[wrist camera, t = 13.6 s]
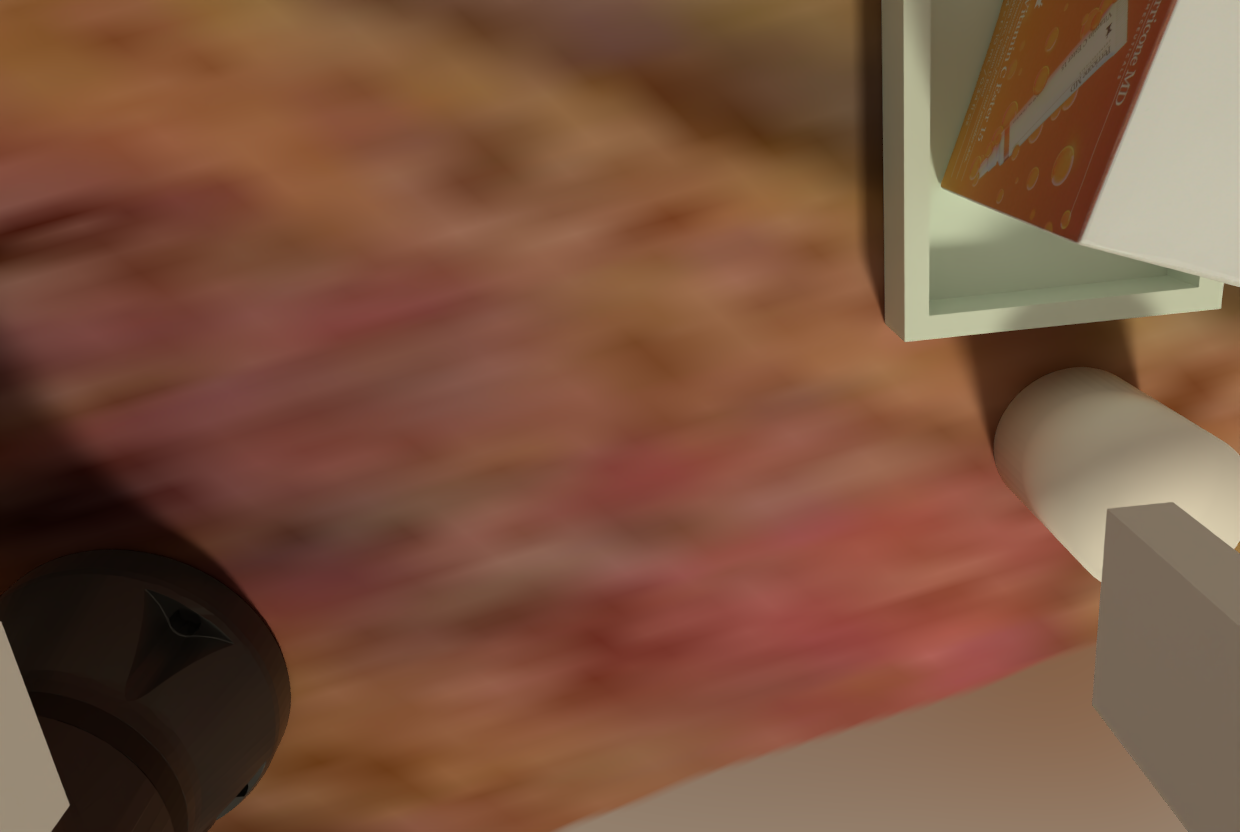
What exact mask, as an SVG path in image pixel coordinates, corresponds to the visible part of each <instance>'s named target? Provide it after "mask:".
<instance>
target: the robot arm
mask: <svg viewBox="0 0 1240 832" xmlns="http://www.w3.org/2000/svg"><path fill="white" fill-rule="evenodd" d="M290 703H291V692H290V682H289V676H288V672H287V668H286V665H285V661H284V658H283V656H282V653H281V651H280V649H279V647H278V645H277V643H276V641H275V639H274V637H273V636H272V634H271V632H270V631H269V629H268V628H267V627H266V625H265V624H264V622H263V621H262V620H261V619H260V617H259V616H258V615H257V614H256V613H255V612H254V611H253V609H252V608H251V607H250V606H249V605H248V604H247V603H246V602H245V601H243V600H242V599H241V598H240V597H239V596H238V595H237V594H235V593H234V592H233V591H232V590H230V589H229V588H228V587H226V586H225V585H223V584H222V583H220V582H219V581H217V580H216V579H214V578H212V577H211V576H209V575H207V574H205V573H203V572H202V571H200V570H197V569H195V568H193V567H191V566H189V565H186V564H184V563H181V562H179V561H176V560H173V559H169V558H166V557H163V556H159V555H155V554H150V553H145V552H138V551H130V550H94V551H86V552H80V553H75V554H71V555H67V556H64V557H60V558H58V559H55V560H52V561H50V562H47V563H45V564H43V565H41V566H39V567H37V568H35V569H34V570H32V571H30V572H29V573H27V574H26V575H24V576H23V577H22V578H20V579H19V580H18V581H17V582H16V583H14V584H13V585H12V586H11V587H10V588H9V589H8V590H7V591H5V592H4V593H3V594H2V595H1V596H0V832H207V831H208V830H209V829H210V828H211V827H212V825H213V824H214V823H215V821H216V820H217V819H219V818H221V817H222V816H224V815H225V814H227V813H228V812H229V811H231V810H232V809H233V808H234V807H236V806H237V805H238V804H239V803H240V802H241V801H242V800H243V799H244V798H245V797H246V796H247V795H248V794H249V793H250V792H251V791H252V790H253V789H254V788H255V786H256V785H257V784H258V782H259V781H260V779H261V778H262V777H263V775H264V774H265V772H266V770H267V768H268V767H269V765H270V763H271V760H272V758H273V756H274V754H275V752H276V750H277V748H278V746H279V743H280V741H281V739H282V737H283V735H284V732H285V729H286V726H287V722H288V718H289V713H290ZM1092 706H1093V707H1094V708H1095V710H1096V711H1097V712H1098V713H1099V715H1100V716H1101V717H1102V719H1103V720H1104V721H1105V723H1106V724H1107V725H1108V727H1109V728H1110V729H1111V731H1112V732H1113V733H1114V735H1115V736H1116V737H1117V739H1118V740H1119V741H1120V742H1121V744H1122V745H1123V746H1124V748H1125V749H1126V750H1127V752H1128V753H1129V754H1130V756H1131V757H1132V758H1133V760H1134V761H1135V762H1136V764H1137V765H1138V766H1139V767H1140V769H1141V770H1142V771H1143V772H1144V774H1145V775H1146V777H1147V778H1148V779H1149V781H1150V782H1151V783H1152V785H1153V786H1154V787H1155V789H1156V790H1157V791H1158V792H1159V794H1160V795H1161V796H1162V798H1163V799H1164V800H1165V802H1166V803H1167V804H1168V806H1169V807H1170V808H1171V810H1172V811H1173V812H1174V814H1175V815H1176V816H1177V817H1178V819H1179V820H1180V821H1181V823H1182V824H1183V825H1184V827H1185V828H1186V829H1187V831H1188V832H1240V554H1239V553H1238V552H1237V551H1236V550H1234V549H1233V548H1232V547H1230V546H1229V545H1228V544H1227V543H1225V542H1224V541H1223V540H1221V539H1220V538H1219V537H1217V536H1216V535H1215V534H1214V533H1212V532H1211V531H1210V530H1208V529H1207V528H1206V527H1205V526H1203V525H1202V524H1201V523H1199V522H1198V521H1197V520H1196V519H1194V518H1193V517H1192V516H1190V515H1189V514H1188V513H1187V512H1185V511H1184V510H1183V509H1181V508H1180V507H1179V506H1178V505H1176V504H1175V503H1174V502H1167V503H1157V504H1147V505H1138V506H1128V507H1118V508H1108V509H1107V514H1106V527H1105V541H1104V554H1103V567H1102V581H1101V594H1100V607H1099V620H1098V634H1097V648H1096V661H1095V675H1094V687H1093V700H1092Z"/></svg>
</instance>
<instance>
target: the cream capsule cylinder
mask: <svg viewBox="0 0 1240 832" xmlns="http://www.w3.org/2000/svg"><path fill="white" fill-rule="evenodd" d="M994 459H995V464H996V467H997V470H998V473H999V474H1000V476H1001V478H1002V480H1003V481H1004V483H1005V484H1006V485H1007V487H1008V488H1009V489H1010V490H1011V491H1012V492H1013V493H1014V494H1015V495H1016V496H1017V497H1018V498H1019V499H1020V500H1021V501H1022V502H1023V503H1024V505H1025V506H1026V507H1027V508H1028V509H1029V510H1030V511H1031V512H1032V513H1033V514H1034V515H1035V516H1036V517H1037V518H1038V519H1039V520H1040V521H1041V522H1042V523H1043V524H1044V526H1045V527H1046V528H1047V529H1048V530H1049V531H1050V532H1051V533H1052V534H1053V535H1054V536H1055V537H1056V538H1057V539H1058V540H1059V541H1060V542H1061V543H1062V544H1063V545H1064V546H1065V548H1066V549H1067V550H1068V551H1069V552H1070V553H1071V554H1072V555H1073V556H1074V557H1075V558H1076V559H1077V560H1078V561H1079V562H1080V563H1081V564H1082V565H1083V566H1084V567H1085V569H1086V570H1087V571H1088V572H1089V573H1091V574H1092V575H1093V576H1094V577H1095V578H1096V579H1098V580H1099V581H1102V567H1103V554H1104V541H1105V527H1106V514H1107V509H1108V508H1118V507H1128V506H1138V505H1147V504H1157V503H1167V502H1174V503H1175V504H1176V505H1178V506H1179V507H1180V508H1181V509H1183V510H1184V511H1185V512H1187V513H1188V514H1189V515H1190V516H1192V517H1193V518H1194V519H1196V520H1197V521H1198V522H1199V523H1201V524H1202V525H1203V526H1205V527H1206V528H1207V529H1208V530H1210V531H1211V532H1212V533H1214V534H1215V535H1216V536H1217V537H1219V538H1220V539H1221V540H1223V541H1224V542H1225V543H1227V544H1228V545H1229V546H1230V547H1232V548H1233V549H1234V548H1235V547H1236V546H1237V544H1238V542H1239V541H1240V455H1239V454H1238V453H1237V452H1236V451H1235V450H1234V449H1233V448H1232V447H1230V446H1229V445H1228V444H1227V443H1225V442H1224V441H1222V440H1220V439H1219V438H1217V437H1215V436H1214V435H1212V434H1211V433H1209V432H1207V431H1206V430H1204V429H1202V428H1201V427H1199V426H1197V425H1196V424H1194V423H1193V422H1191V421H1189V420H1188V419H1186V418H1184V417H1183V416H1181V415H1180V414H1178V413H1176V412H1175V411H1173V410H1171V409H1170V408H1168V407H1167V406H1165V405H1163V404H1162V403H1160V402H1158V401H1157V400H1155V399H1153V398H1152V397H1150V396H1149V395H1147V394H1145V393H1144V392H1142V391H1140V390H1139V389H1137V388H1136V387H1134V386H1132V385H1131V384H1129V383H1127V382H1126V381H1124V380H1123V379H1121V378H1119V377H1117V376H1116V375H1114V374H1112V373H1110V372H1107V371H1104V370H1101V369H1096V368H1090V367H1073V368H1067V369H1062V370H1058V371H1055V372H1052V373H1049V374H1047V375H1045V376H1043V377H1041V378H1039V379H1037V380H1035V381H1034V382H1032V383H1031V384H1029V385H1028V386H1027V387H1025V388H1024V389H1023V390H1022V391H1021V392H1020V393H1019V394H1018V395H1017V396H1016V397H1015V398H1014V399H1013V400H1012V401H1011V403H1010V404H1009V405H1008V407H1007V408H1006V410H1005V411H1004V413H1003V415H1002V417H1001V419H1000V421H999V424H998V426H997V429H996V433H995V438H994Z"/></svg>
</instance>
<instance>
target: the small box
mask: <svg viewBox="0 0 1240 832" xmlns="http://www.w3.org/2000/svg"><path fill="white" fill-rule="evenodd" d="M941 188H942V189H944V190H946V191H949V192H951V193H953V194H956V195H958V196H960V197H963V198H965V199H967V200H970V201H972V202H974V203H977V204H979V205H982V206H984V207H987V208H989V209H992V210H994V211H996V212H999V213H1001V214H1004V215H1006V216H1009V217H1012V218H1014V219H1017V220H1019V221H1021V222H1024V223H1026V224H1028V225H1031V226H1034V227H1036V228H1039V229H1041V230H1043V231H1046V232H1048V233H1051V234H1053V235H1056V236H1058V237H1060V238H1063V239H1065V240H1068V241H1071V242H1073V243H1076V244H1079V245H1082V246H1086V247H1090V248H1094V249H1097V250H1101V251H1105V252H1109V253H1113V254H1116V255H1120V256H1124V257H1128V258H1131V259H1135V260H1139V261H1143V262H1147V263H1151V264H1154V265H1158V266H1162V267H1166V268H1170V269H1173V270H1177V271H1181V272H1185V273H1189V274H1193V275H1196V276H1200V277H1204V278H1208V279H1211V280H1215V281H1219V282H1223V283H1227V284H1230V285H1234V286H1238V287H1240V0H1003V3H1002V6H1001V10H1000V13H999V17H998V20H997V23H996V26H995V29H994V32H993V35H992V39H991V42H990V45H989V48H988V51H987V54H986V57H985V60H984V63H983V66H982V68H981V71H980V74H979V77H978V80H977V84H976V87H975V90H974V92H973V95H972V98H971V101H970V104H969V107H968V110H967V113H966V115H965V118H964V121H963V124H962V127H961V130H960V132H959V135H958V138H957V141H956V144H955V147H954V149H953V152H952V155H951V158H950V160H949V163H948V166H947V169H946V171H945V174H944V177H943V180H942V182H941Z"/></svg>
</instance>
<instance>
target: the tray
mask: <svg viewBox="0 0 1240 832" xmlns="http://www.w3.org/2000/svg"><path fill="white" fill-rule="evenodd" d="M1002 3H1003V0H881V6H882V98H883V191H884V284H885V324H886V325H887V326H888V327H889V328H890V329H891V330H893V331H894V332H895V333H896V334H897V335H898V336H899V337H900V338H901V339H902V340H903V341H904V342H908V341H918V340H927V339H937V338H946V337H956V336H966V335H975V334H985V333H994V332H1004V331H1013V330H1023V329H1032V328H1042V327H1051V326H1061V325H1070V324H1080V323H1089V322H1099V321H1108V320H1118V319H1127V318H1137V317H1146V316H1156V315H1165V314H1175V313H1184V312H1194V311H1203V310H1213V309H1221V303H1222V294H1223V285H1224V283H1223V282H1219V281H1215V280H1211V279H1208V278H1204V277H1200V276H1196V275H1193V274H1189V273H1185V272H1181V271H1177V270H1173V269H1170V268H1166V267H1162V266H1158V265H1154V264H1151V263H1147V262H1143V261H1139V260H1135V259H1131V258H1128V257H1124V256H1120V255H1116V254H1113V253H1109V252H1105V251H1101V250H1097V249H1094V248H1090V247H1086V246H1082V245H1079V244H1076V243H1073V242H1071V241H1068V240H1065V239H1063V238H1060V237H1058V236H1056V235H1053V234H1051V233H1048V232H1046V231H1043V230H1041V229H1039V228H1036V227H1034V226H1031V225H1028V224H1026V223H1024V222H1021V221H1019V220H1017V219H1014V218H1012V217H1009V216H1006V215H1004V214H1001V213H999V212H996V211H994V210H992V209H989V208H987V207H984V206H982V205H979V204H977V203H974V202H972V201H970V200H967V199H965V198H963V197H960V196H958V195H956V194H953V193H951V192H949V191H946V190H944V189H942V188H941V182H942V180H943V177H944V174H945V171H946V169H947V166H948V163H949V160H950V158H951V155H952V152H953V149H954V147H955V144H956V141H957V138H958V135H959V132H960V130H961V127H962V124H963V121H964V118H965V115H966V113H967V110H968V107H969V104H970V101H971V98H972V95H973V92H974V90H975V87H976V84H977V80H978V77H979V74H980V71H981V68H982V66H983V63H984V60H985V57H986V54H987V51H988V48H989V45H990V42H991V39H992V35H993V32H994V29H995V26H996V23H997V20H998V17H999V13H1000V10H1001V6H1002Z"/></svg>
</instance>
